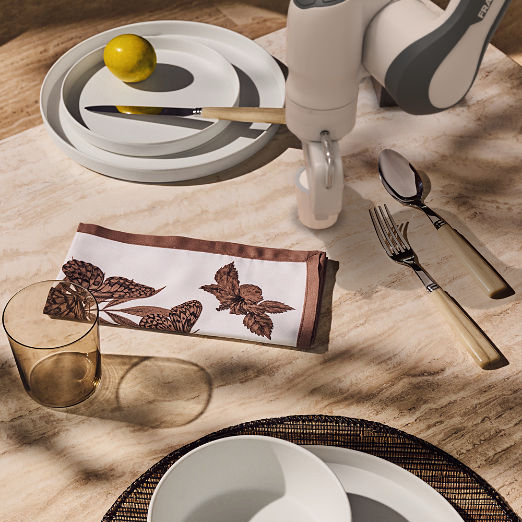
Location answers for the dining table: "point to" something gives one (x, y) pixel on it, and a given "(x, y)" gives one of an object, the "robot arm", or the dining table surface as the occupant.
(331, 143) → the robot arm
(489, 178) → the dining table surface
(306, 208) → the white cup
